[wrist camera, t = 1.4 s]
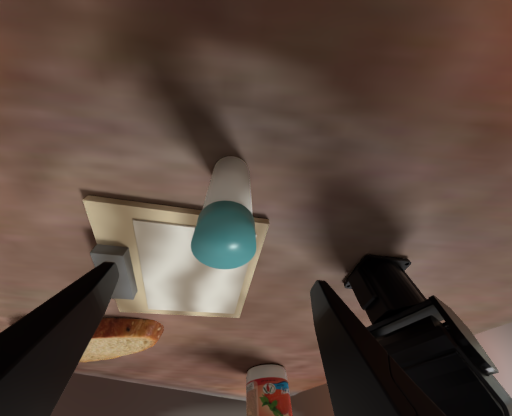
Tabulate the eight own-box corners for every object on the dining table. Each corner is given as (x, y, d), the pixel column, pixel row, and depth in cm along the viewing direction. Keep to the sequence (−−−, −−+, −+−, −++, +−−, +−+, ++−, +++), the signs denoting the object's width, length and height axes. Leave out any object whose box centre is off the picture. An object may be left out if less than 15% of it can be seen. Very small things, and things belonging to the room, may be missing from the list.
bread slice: (174, 324, 34) (167, 349, 31) (124, 358, 40) (114, 382, 37) (49, 281, 26) (23, 310, 23) (13, 332, 32) (-10, 360, 29)
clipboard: (268, 219, 21) (270, 232, 19) (239, 312, 32) (239, 326, 30) (88, 195, 18) (73, 207, 17) (122, 306, 29) (115, 320, 27)
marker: (254, 158, 17) (262, 228, 10) (247, 192, 19) (249, 271, 12) (214, 151, 17) (191, 219, 9) (210, 186, 19) (189, 266, 11)
